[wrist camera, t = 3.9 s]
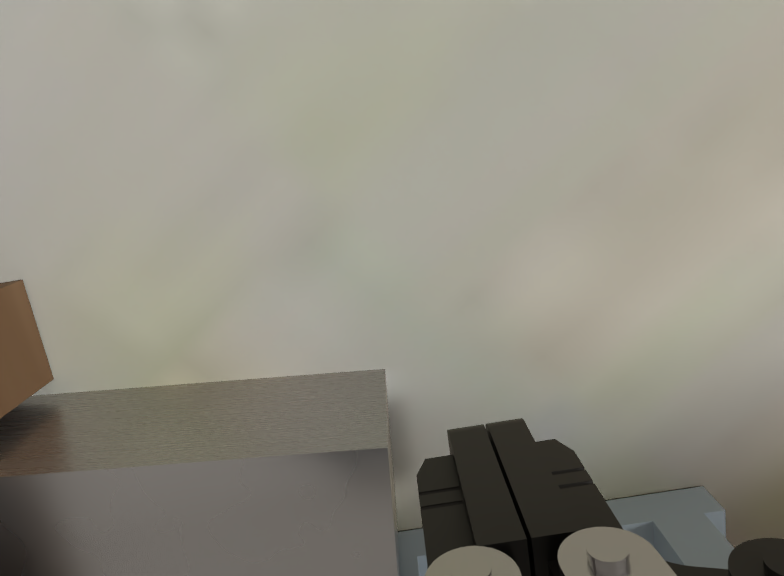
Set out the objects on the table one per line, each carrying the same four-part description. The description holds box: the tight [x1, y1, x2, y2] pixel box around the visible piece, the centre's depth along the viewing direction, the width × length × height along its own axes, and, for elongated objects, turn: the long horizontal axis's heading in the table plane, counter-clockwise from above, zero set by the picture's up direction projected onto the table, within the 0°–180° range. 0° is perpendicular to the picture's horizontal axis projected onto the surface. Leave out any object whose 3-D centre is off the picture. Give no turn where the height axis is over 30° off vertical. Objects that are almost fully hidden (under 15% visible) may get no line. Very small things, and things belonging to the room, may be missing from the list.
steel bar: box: [0, 369, 400, 576], centre depth 13 cm, size 16×4×4 cm, turn 94°
